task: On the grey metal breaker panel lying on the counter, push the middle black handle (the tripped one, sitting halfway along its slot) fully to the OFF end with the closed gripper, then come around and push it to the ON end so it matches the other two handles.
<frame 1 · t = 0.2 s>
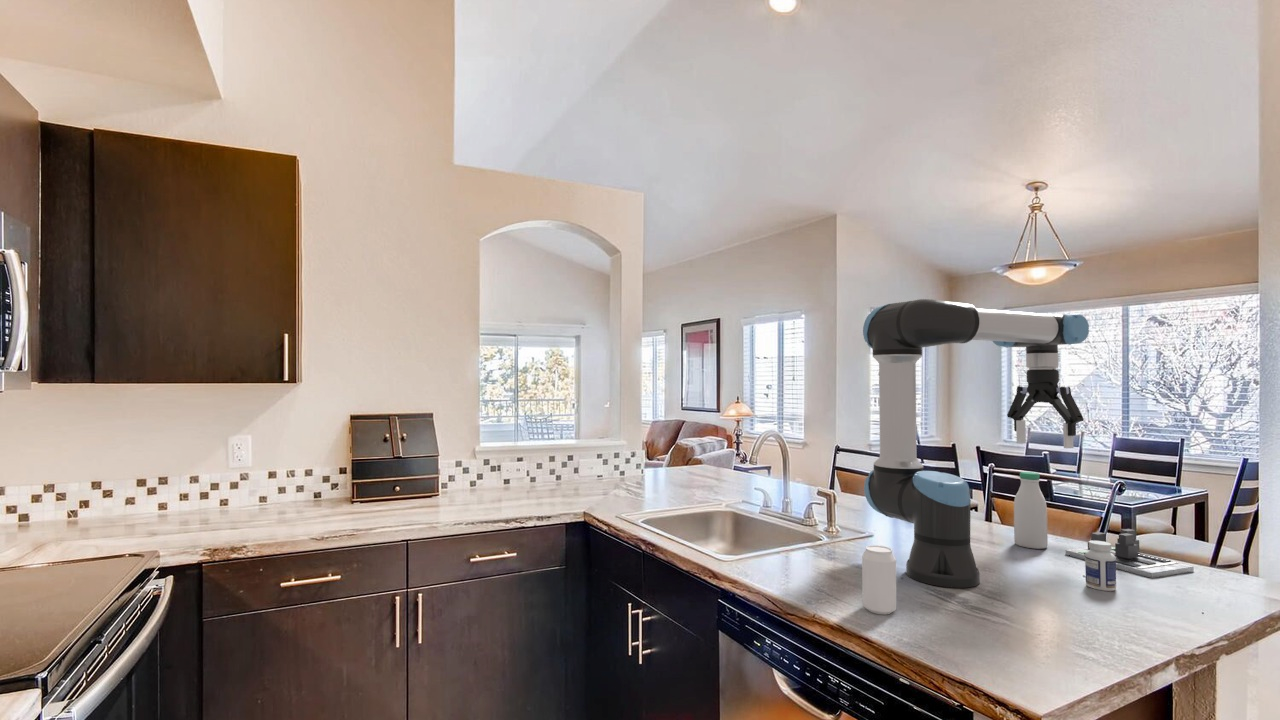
hand: (1044, 445, 170), 27 cm above the worktop, fingers open, 13 cm apart
pill bottle: (1100, 588, 134), on the worktop
handle left: (1098, 544, 154), point 4 cm above the worktop, slide at 3.0 cm
handle mid: (1126, 545, 153), point 4 cm above the worktop, slide at 0.0 cm
beverage can: (879, 611, 120), on the worktop
milk bottle: (1030, 546, 168), on the worktop
panel: (1126, 562, 152), on the worktop
handle right: (1128, 540, 157), point 4 cm above the worktop, slide at 3.0 cm
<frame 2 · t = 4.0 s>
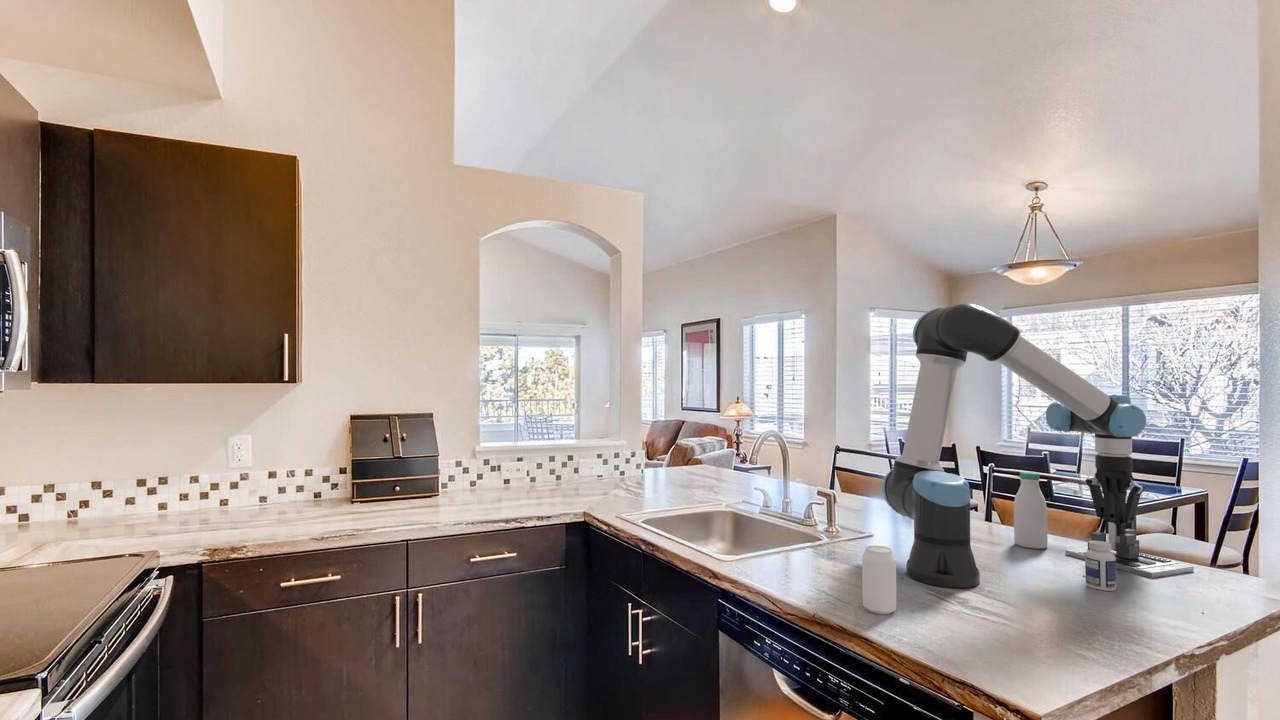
hand: (1115, 548, 155), 3 cm above the worktop, fingers closed
handle mid: (1127, 545, 152), point 4 cm above the worktop, slide at -0.2 cm, touching gripper
everything else where it was.
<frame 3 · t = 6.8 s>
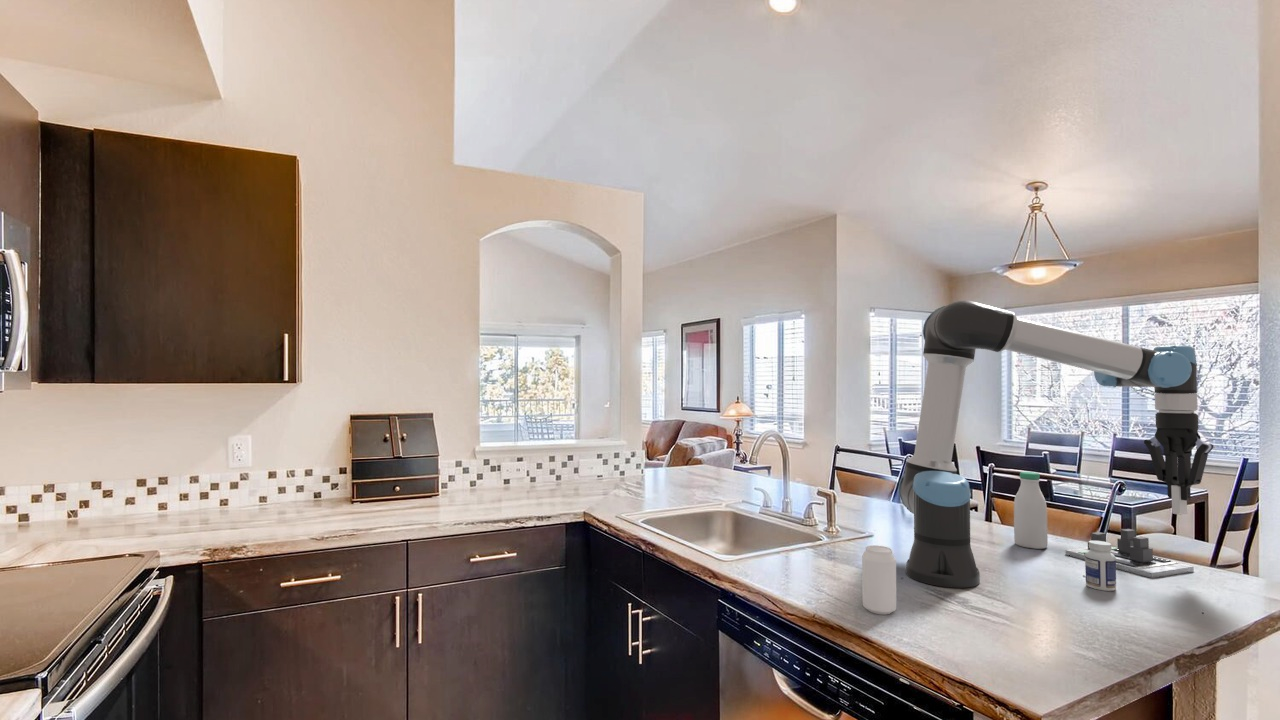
hand: (1179, 513, 142), 15 cm above the worktop, fingers closed
handle mid: (1141, 548, 150), point 4 cm above the worktop, slide at -3.3 cm
everything else where it was.
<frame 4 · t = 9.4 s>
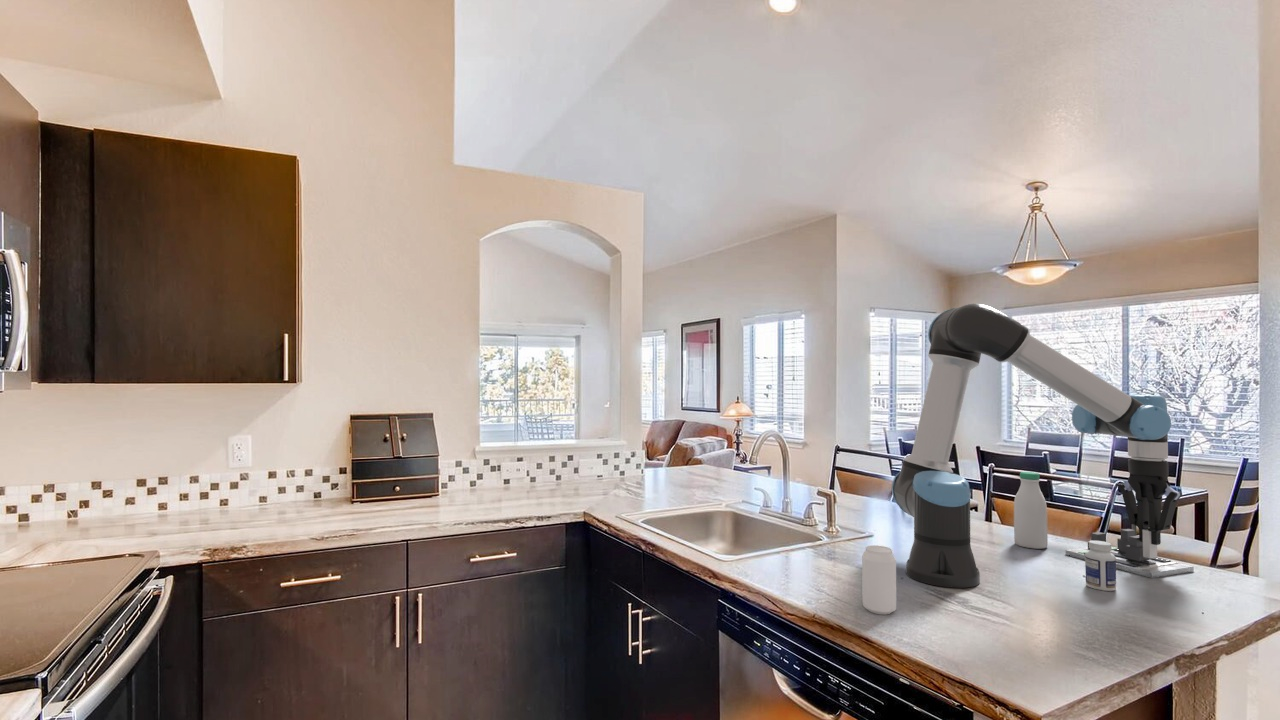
hand: (1150, 557, 148), 3 cm above the worktop, fingers closed
handle mid: (1137, 547, 150), point 4 cm above the worktop, slide at -2.4 cm, touching gripper
everything else where it was.
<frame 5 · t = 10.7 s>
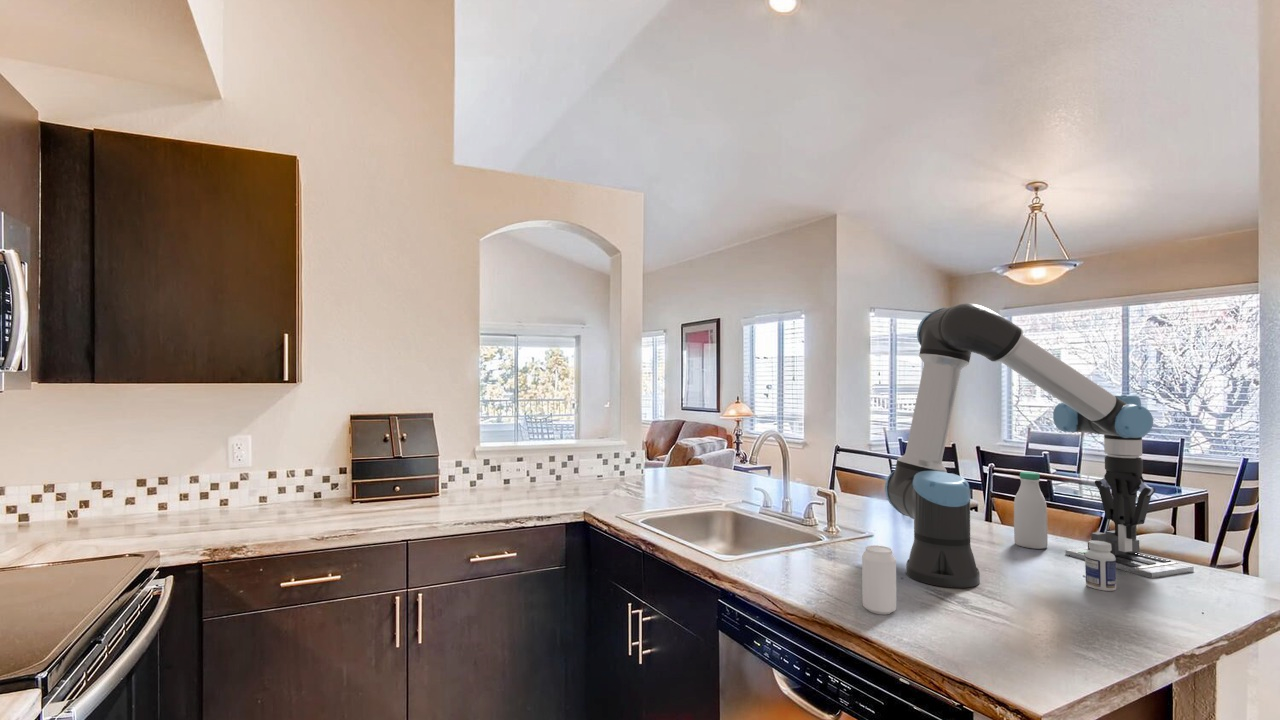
hand: (1125, 550, 153), 3 cm above the worktop, fingers closed
handle mid: (1113, 542, 156), point 4 cm above the worktop, slide at 3.1 cm, touching gripper
everything else where it was.
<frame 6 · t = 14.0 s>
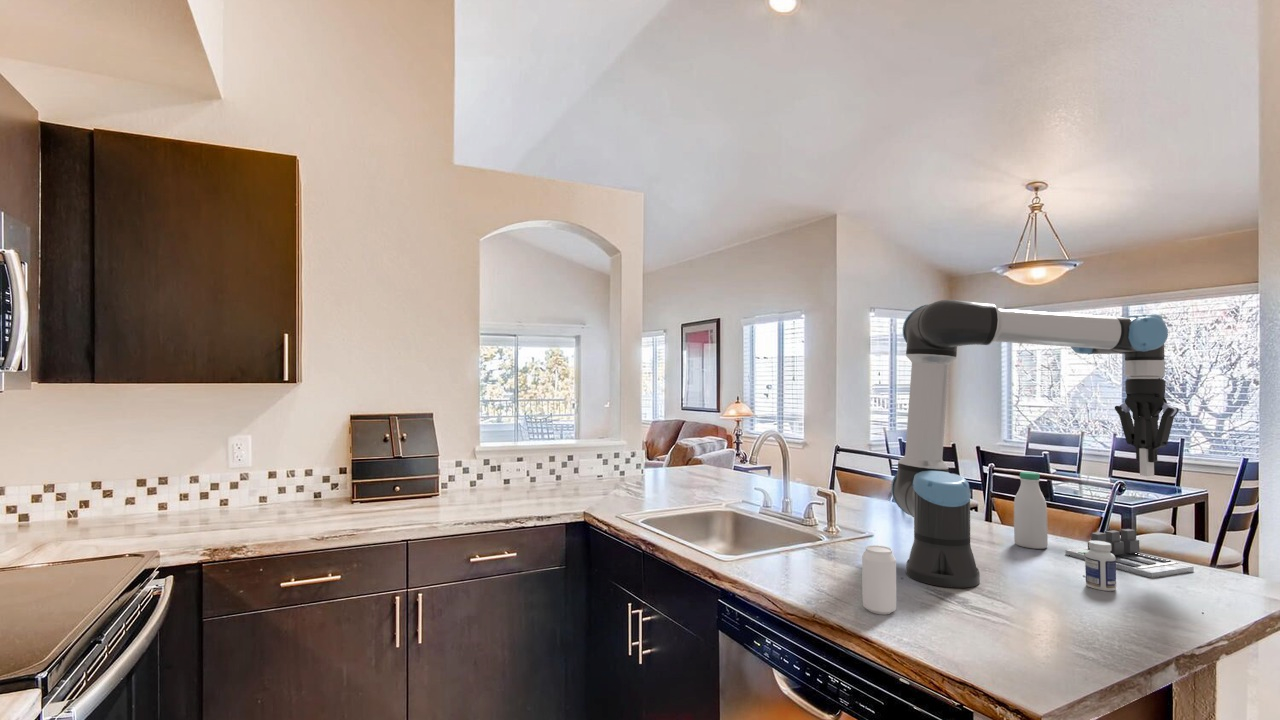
hand: (1147, 475, 149), 22 cm above the worktop, fingers closed
handle mid: (1112, 542, 156), point 4 cm above the worktop, slide at 3.2 cm
everything else where it was.
at the end: handle mid slide at 3.2 cm; handle left slide at 3.0 cm; handle right slide at 3.0 cm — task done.
